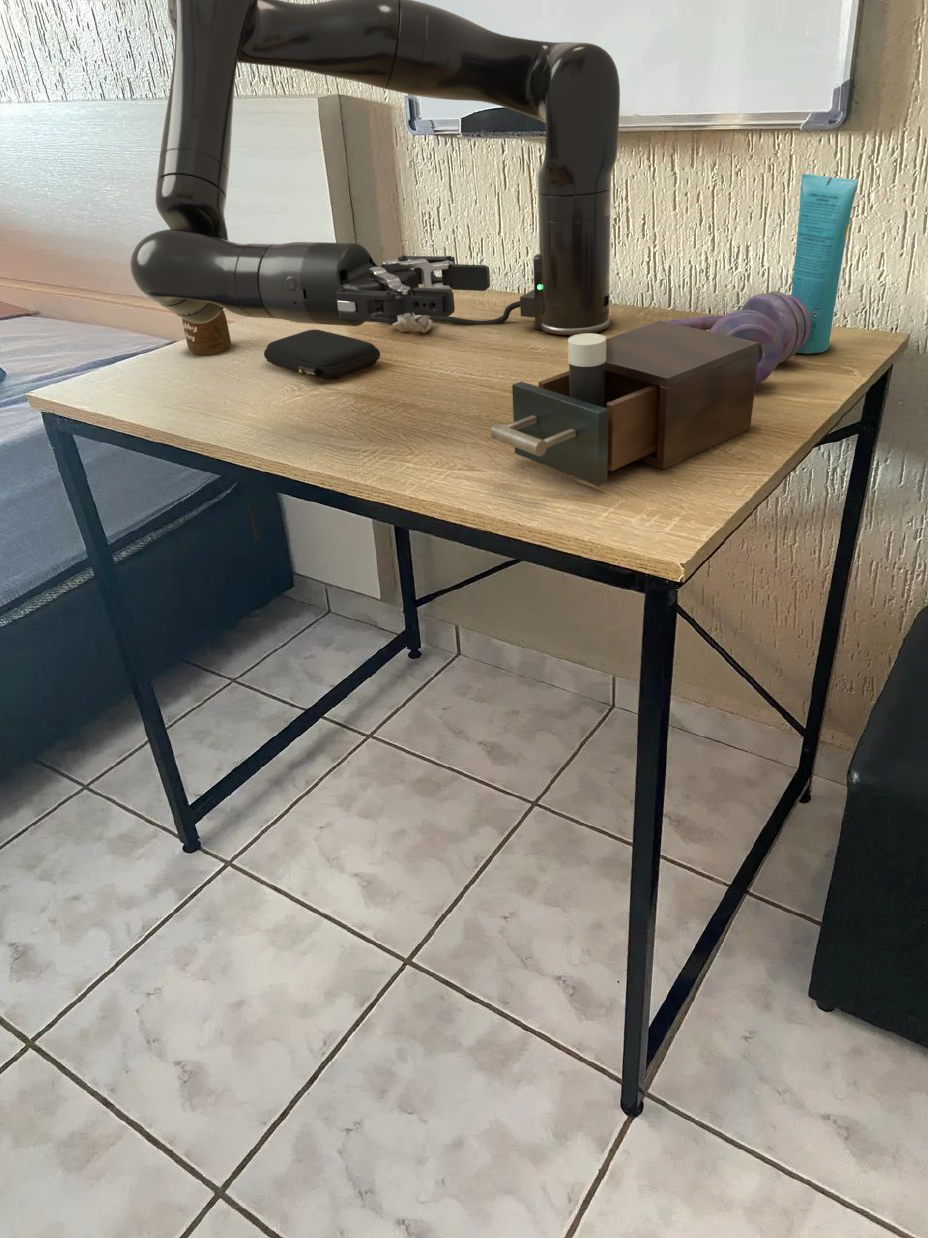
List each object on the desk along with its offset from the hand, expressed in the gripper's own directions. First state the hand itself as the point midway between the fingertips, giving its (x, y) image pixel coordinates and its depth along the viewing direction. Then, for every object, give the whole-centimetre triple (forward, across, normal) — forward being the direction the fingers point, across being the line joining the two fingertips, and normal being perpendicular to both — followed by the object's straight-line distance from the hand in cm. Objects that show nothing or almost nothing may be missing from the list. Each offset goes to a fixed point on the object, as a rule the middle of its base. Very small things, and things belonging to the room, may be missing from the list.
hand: (471, 290), depth 86 cm
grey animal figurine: (-27, -37, -16) cm, 49 cm away
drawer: (+11, +1, -15) cm, 18 cm away
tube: (+27, -40, -16) cm, 51 cm away
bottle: (+11, 0, -14) cm, 18 cm away
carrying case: (-31, -21, -16) cm, 41 cm away
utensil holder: (-51, -24, -16) cm, 59 cm away
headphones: (+16, -30, -16) cm, 38 cm away
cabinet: (+16, -9, -16) cm, 24 cm away
